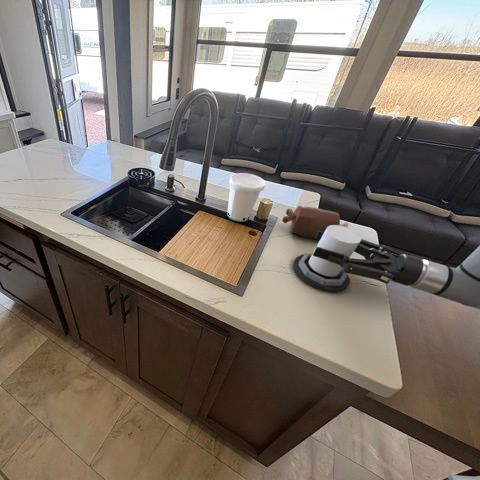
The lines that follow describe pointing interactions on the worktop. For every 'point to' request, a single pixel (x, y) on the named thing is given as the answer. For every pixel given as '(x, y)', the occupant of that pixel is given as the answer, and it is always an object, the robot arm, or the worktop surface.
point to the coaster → (315, 285)
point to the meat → (311, 220)
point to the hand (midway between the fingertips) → (316, 242)
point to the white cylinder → (335, 248)
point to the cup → (243, 195)
